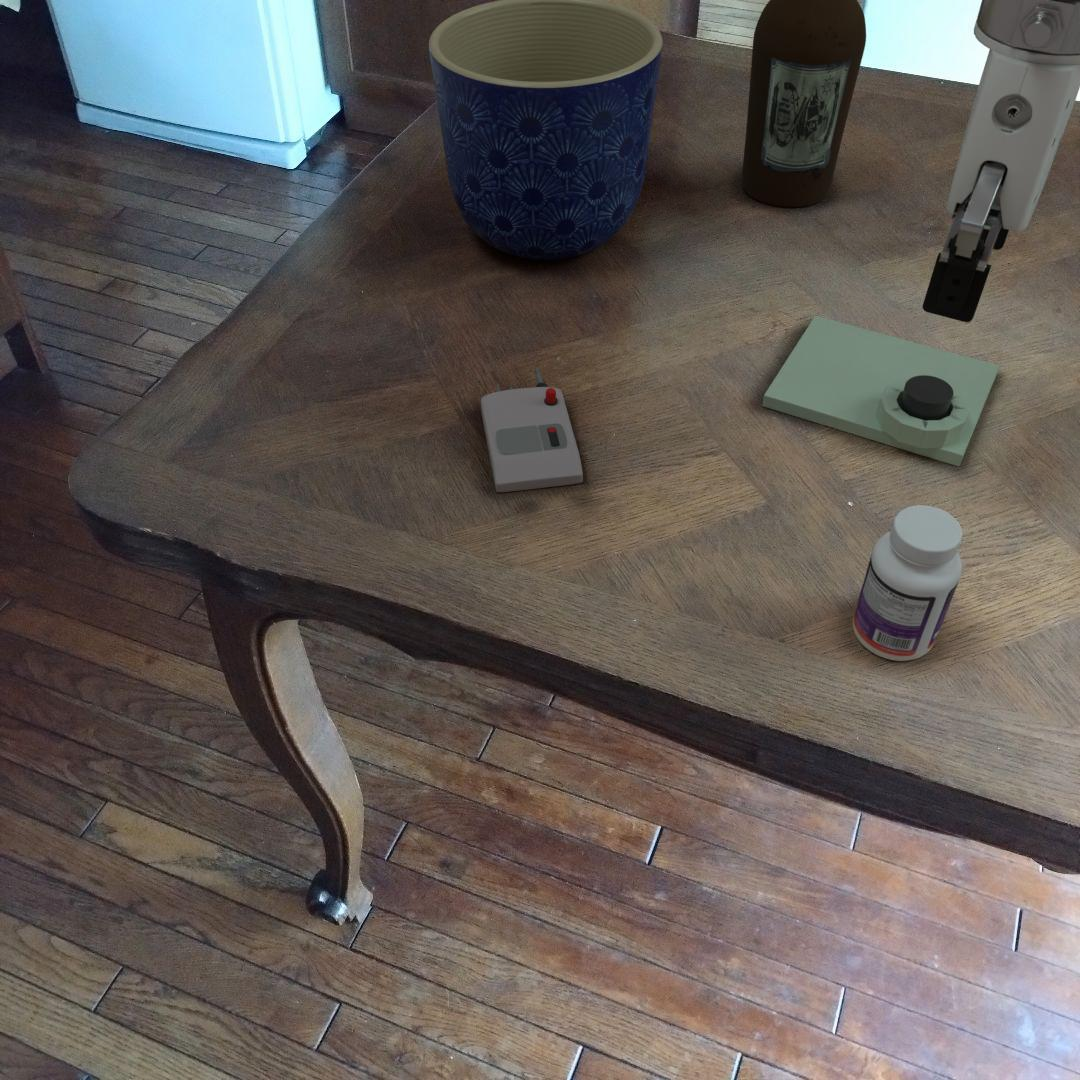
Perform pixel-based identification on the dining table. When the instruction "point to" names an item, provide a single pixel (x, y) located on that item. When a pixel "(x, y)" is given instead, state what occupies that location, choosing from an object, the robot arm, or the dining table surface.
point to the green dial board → (879, 388)
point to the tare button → (926, 397)
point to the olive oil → (800, 97)
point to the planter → (546, 120)
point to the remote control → (530, 438)
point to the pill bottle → (909, 584)
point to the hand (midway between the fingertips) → (963, 277)
